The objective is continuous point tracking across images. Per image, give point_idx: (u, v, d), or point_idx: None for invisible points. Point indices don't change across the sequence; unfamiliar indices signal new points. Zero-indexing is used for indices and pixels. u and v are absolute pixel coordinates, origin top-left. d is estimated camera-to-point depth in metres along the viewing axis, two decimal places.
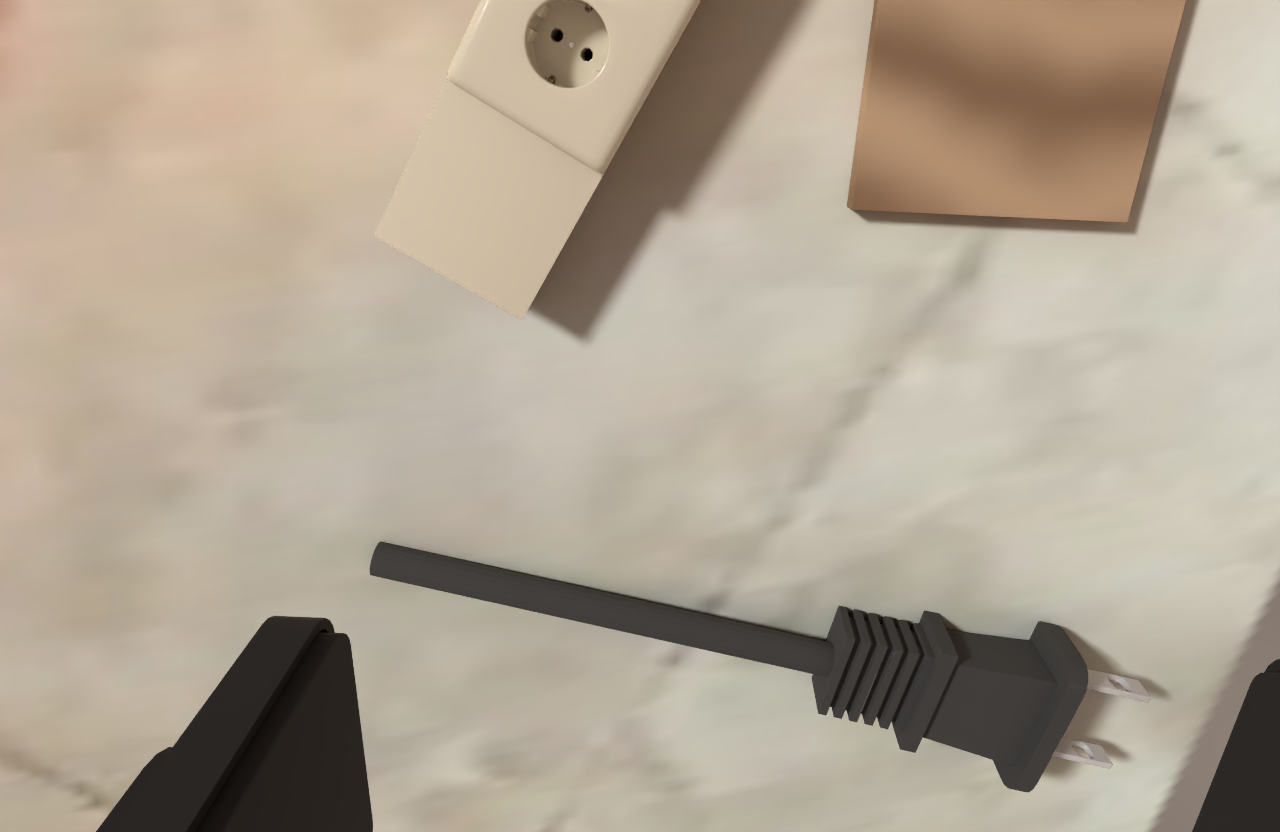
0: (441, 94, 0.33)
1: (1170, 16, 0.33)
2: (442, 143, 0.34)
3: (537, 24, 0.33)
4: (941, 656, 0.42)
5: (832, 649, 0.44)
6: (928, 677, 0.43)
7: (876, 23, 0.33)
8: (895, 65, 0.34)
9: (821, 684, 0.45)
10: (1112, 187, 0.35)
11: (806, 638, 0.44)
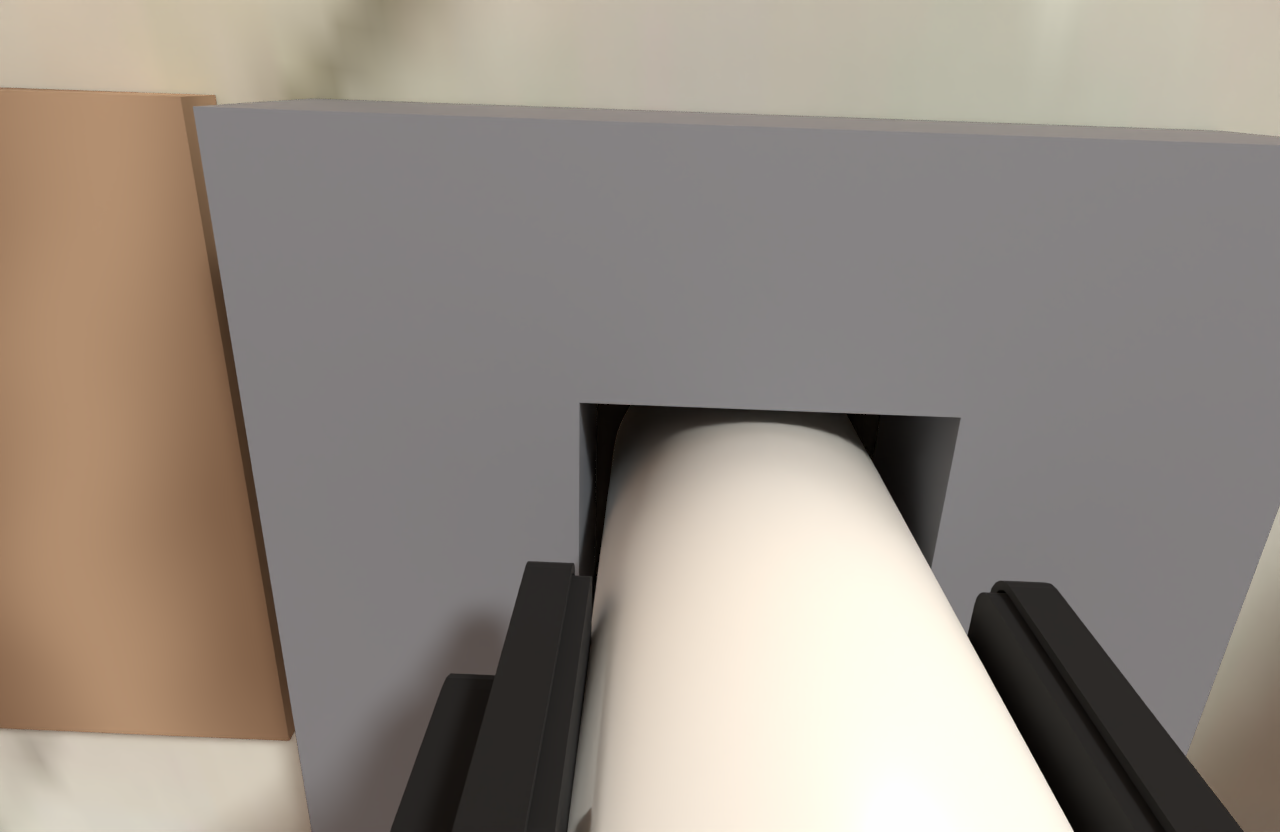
0: None
1: (139, 717, 0.16)
2: None
3: None
4: None
5: None
6: None
7: None
8: None
9: None
10: None
11: None
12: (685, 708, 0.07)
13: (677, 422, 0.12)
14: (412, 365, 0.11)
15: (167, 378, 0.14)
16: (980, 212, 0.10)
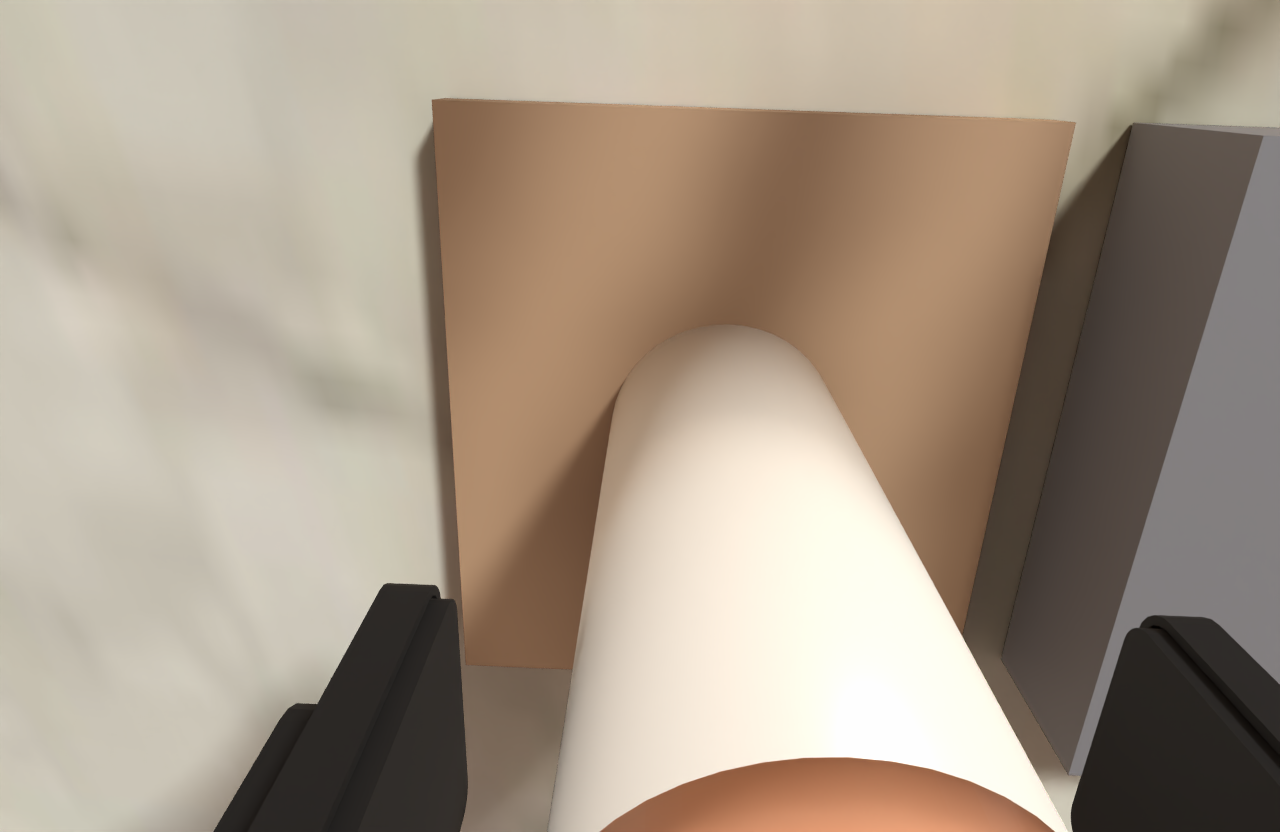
0: None
1: None
2: None
3: None
4: None
5: None
6: None
7: (860, 114, 0.14)
8: (767, 171, 0.14)
9: None
10: (527, 631, 0.18)
11: None
12: (667, 588, 0.08)
13: (667, 384, 0.13)
14: None
15: (968, 362, 0.16)
16: None
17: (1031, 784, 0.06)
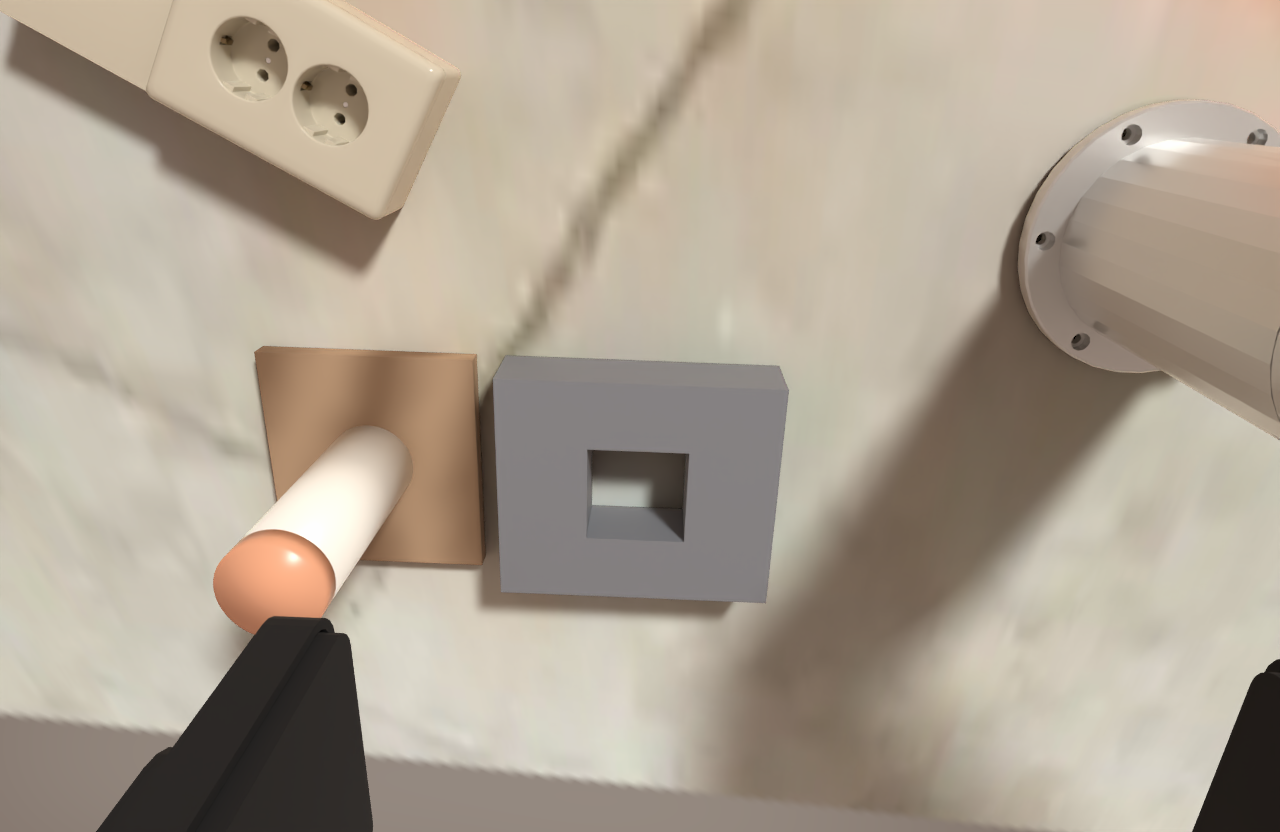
0: None
1: (429, 556, 0.46)
2: None
3: None
4: None
5: None
6: None
7: (401, 356, 0.41)
8: (371, 374, 0.42)
9: None
10: None
11: None
12: (273, 507, 0.35)
13: (326, 451, 0.41)
14: (542, 439, 0.40)
15: (456, 438, 0.43)
16: (687, 403, 0.39)
17: (317, 538, 0.33)
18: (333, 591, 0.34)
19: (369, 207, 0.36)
